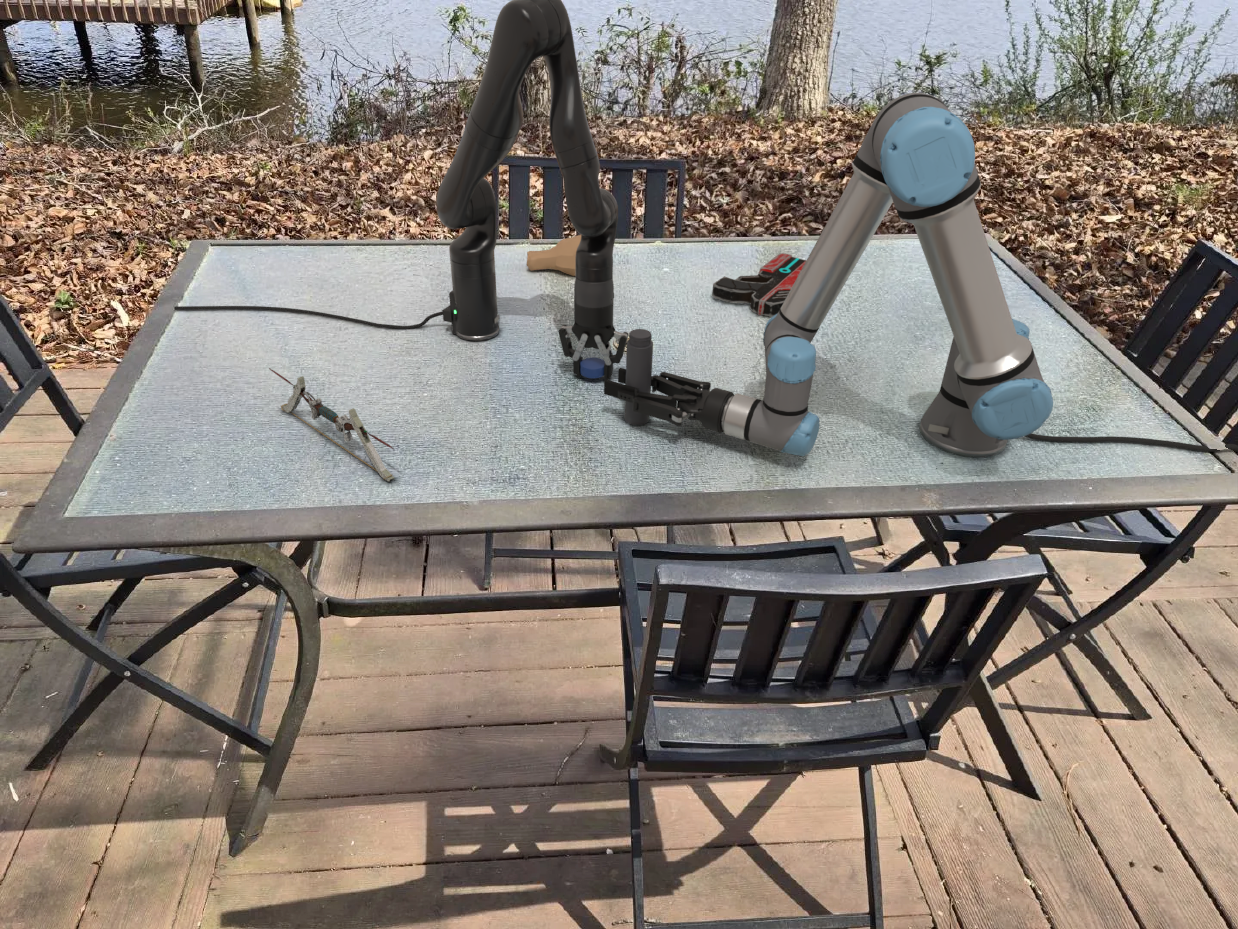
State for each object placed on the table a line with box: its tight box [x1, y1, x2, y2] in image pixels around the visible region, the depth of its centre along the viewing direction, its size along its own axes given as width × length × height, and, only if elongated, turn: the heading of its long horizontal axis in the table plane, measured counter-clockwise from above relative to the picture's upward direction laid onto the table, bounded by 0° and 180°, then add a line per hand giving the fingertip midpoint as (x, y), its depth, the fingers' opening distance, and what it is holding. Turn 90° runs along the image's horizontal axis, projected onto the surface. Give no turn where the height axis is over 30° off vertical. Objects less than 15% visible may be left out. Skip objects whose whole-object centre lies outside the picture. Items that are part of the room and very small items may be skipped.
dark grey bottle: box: [623, 328, 654, 426], centre depth 159 cm, size 5×5×18 cm
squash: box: [526, 234, 581, 277], centre depth 222 cm, size 11×20×9 cm, turn 90°
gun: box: [711, 252, 807, 318], centre depth 215 cm, size 4×31×19 cm
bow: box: [269, 367, 396, 483], centre depth 151 cm, size 39×2×10 cm, turn 47°
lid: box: [580, 356, 605, 379], centre depth 175 cm, size 5×5×2 cm
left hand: (593, 377), depth 176 cm, fingers closed on lid, 5 cm apart
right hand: (612, 380), depth 162 cm, fingers closed on dark grey bottle, 5 cm apart
